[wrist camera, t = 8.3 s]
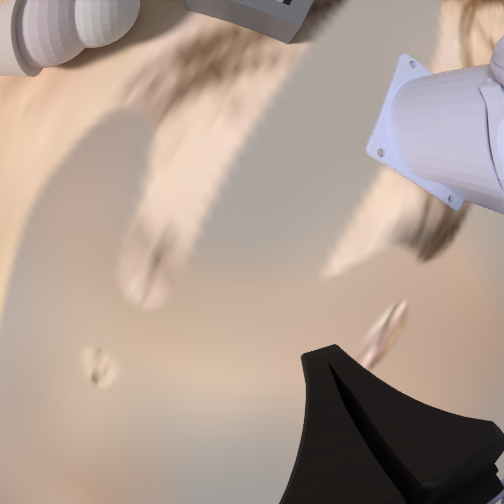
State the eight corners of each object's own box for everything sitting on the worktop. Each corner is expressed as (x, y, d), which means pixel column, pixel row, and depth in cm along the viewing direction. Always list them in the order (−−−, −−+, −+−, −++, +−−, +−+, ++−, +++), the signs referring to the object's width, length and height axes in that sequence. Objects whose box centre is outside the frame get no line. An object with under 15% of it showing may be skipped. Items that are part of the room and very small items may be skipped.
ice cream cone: (-35, 80, 12) (143, 25, 15) (-65, 138, 10) (139, 72, 13) (-58, 24, 6) (144, -51, 10) (-103, 77, 4) (134, -29, 8)
